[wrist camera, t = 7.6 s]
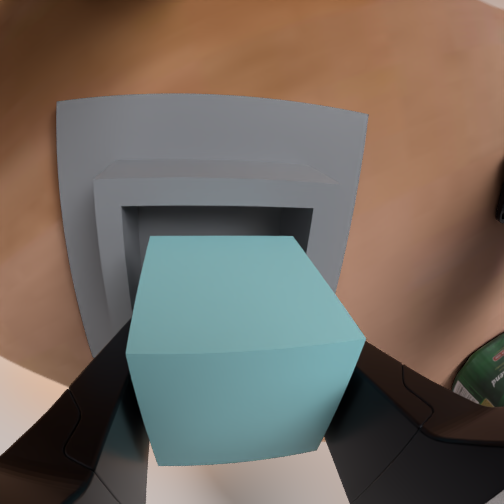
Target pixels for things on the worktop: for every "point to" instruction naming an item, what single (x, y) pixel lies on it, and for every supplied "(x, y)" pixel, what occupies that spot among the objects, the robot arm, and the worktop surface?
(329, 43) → the worktop surface
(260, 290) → the peg
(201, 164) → the socket
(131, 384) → the robot arm
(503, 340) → the coffee jar
